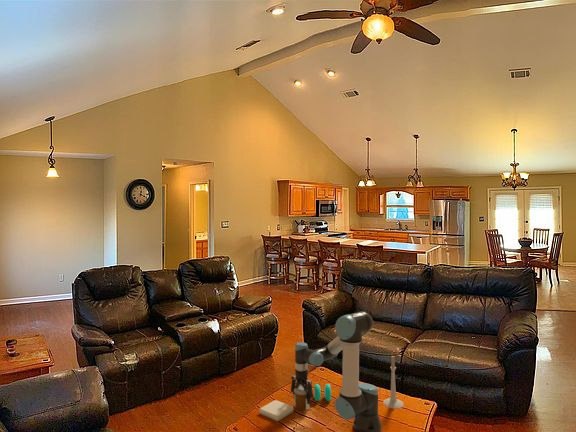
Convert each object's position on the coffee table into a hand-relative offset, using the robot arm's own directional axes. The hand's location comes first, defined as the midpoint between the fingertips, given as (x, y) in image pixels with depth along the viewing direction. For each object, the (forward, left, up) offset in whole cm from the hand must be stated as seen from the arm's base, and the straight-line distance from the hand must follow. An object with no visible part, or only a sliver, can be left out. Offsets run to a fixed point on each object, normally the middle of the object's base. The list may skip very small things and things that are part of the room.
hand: (301, 406), depth 246 cm
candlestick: (-41, -38, -1) cm, 56 cm away
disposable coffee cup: (0, 0, -1) cm, 1 cm away
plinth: (+8, +14, -1) cm, 16 cm away
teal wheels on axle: (-4, -16, -1) cm, 17 cm away
